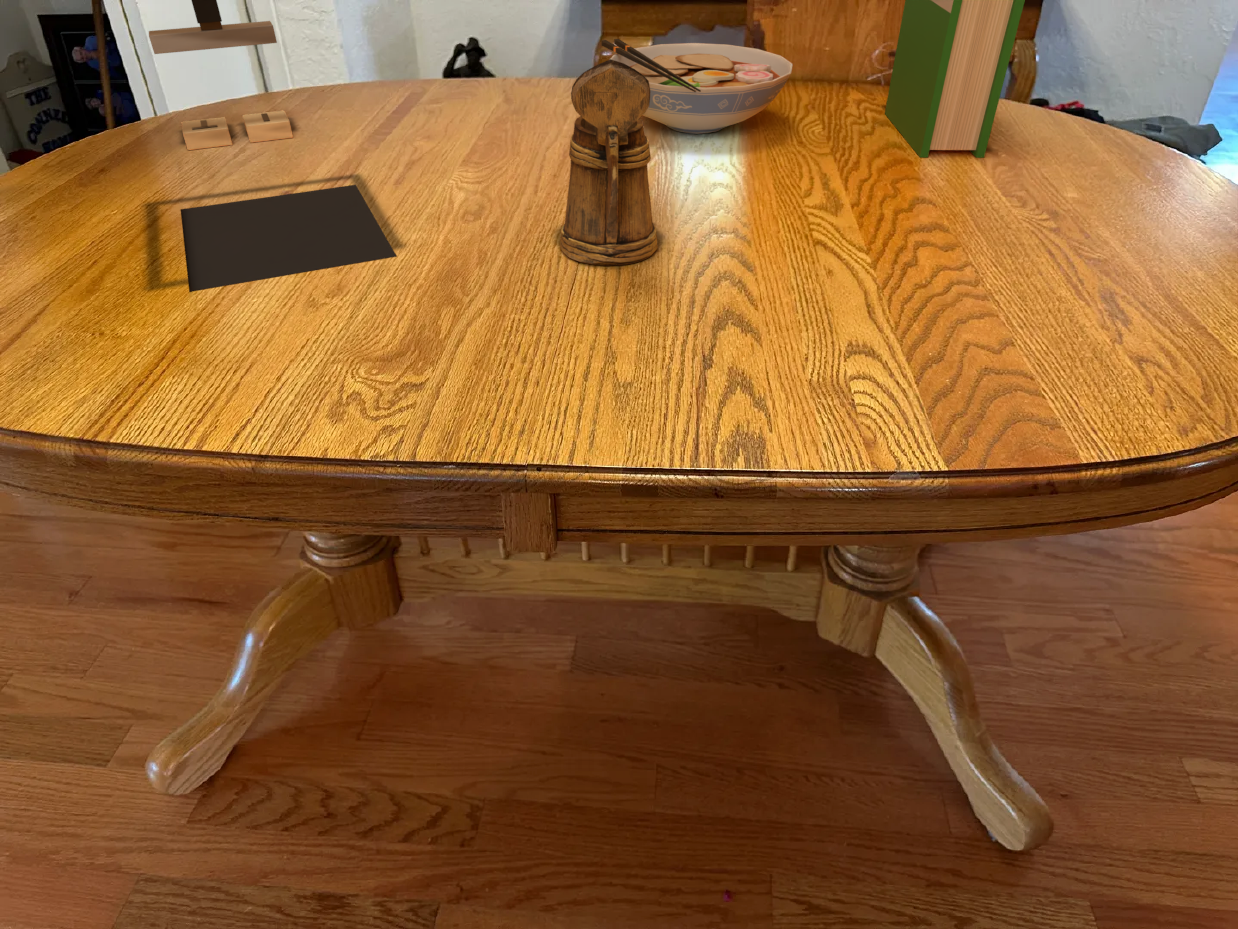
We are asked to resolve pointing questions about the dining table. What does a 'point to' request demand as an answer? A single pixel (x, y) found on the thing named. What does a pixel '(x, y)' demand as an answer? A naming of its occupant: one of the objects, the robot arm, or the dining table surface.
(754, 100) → the ramen bowl
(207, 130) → the tile
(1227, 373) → the dining table surface
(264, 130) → the tile
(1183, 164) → the dining table surface
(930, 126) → the hardback book
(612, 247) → the wooden mug
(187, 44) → the scraper
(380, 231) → the mat
